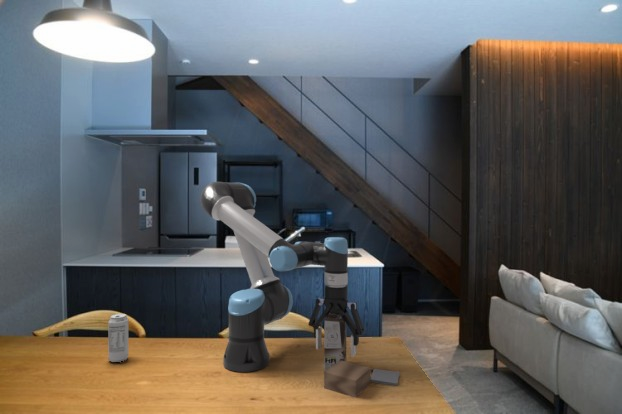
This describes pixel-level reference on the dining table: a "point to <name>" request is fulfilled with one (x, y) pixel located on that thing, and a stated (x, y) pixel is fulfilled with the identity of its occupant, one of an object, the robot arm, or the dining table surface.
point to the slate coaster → (385, 377)
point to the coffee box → (334, 340)
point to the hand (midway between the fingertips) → (335, 351)
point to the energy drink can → (118, 337)
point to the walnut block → (347, 378)
